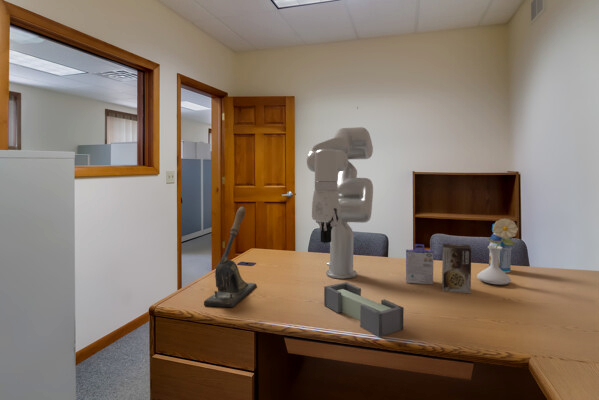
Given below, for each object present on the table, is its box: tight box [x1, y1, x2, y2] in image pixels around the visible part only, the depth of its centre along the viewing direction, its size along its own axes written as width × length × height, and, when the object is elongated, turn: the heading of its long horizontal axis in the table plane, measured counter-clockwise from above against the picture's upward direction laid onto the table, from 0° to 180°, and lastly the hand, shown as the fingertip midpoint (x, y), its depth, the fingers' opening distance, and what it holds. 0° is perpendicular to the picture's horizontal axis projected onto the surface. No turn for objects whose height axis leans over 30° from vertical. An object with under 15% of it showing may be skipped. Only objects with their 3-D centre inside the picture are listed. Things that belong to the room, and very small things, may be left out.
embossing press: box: [203, 205, 257, 308], centre depth 119 cm, size 11×24×30 cm, turn 165°
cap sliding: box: [323, 282, 362, 314], centre depth 109 cm, size 7×9×6 cm
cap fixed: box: [359, 298, 405, 338], centre depth 94 cm, size 7×9×6 cm
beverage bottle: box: [488, 223, 513, 274], centre depth 149 cm, size 8×8×20 cm
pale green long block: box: [337, 289, 392, 321], centre depth 101 cm, size 20×4×6 cm, turn 35°
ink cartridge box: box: [405, 243, 435, 285], centre depth 134 cm, size 10×6×14 cm, turn 78°
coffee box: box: [441, 243, 472, 294], centre depth 124 cm, size 9×6×16 cm
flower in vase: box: [476, 218, 519, 286], centre depth 132 cm, size 13×11×25 cm
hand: (325, 242), depth 116 cm, fingers closed
